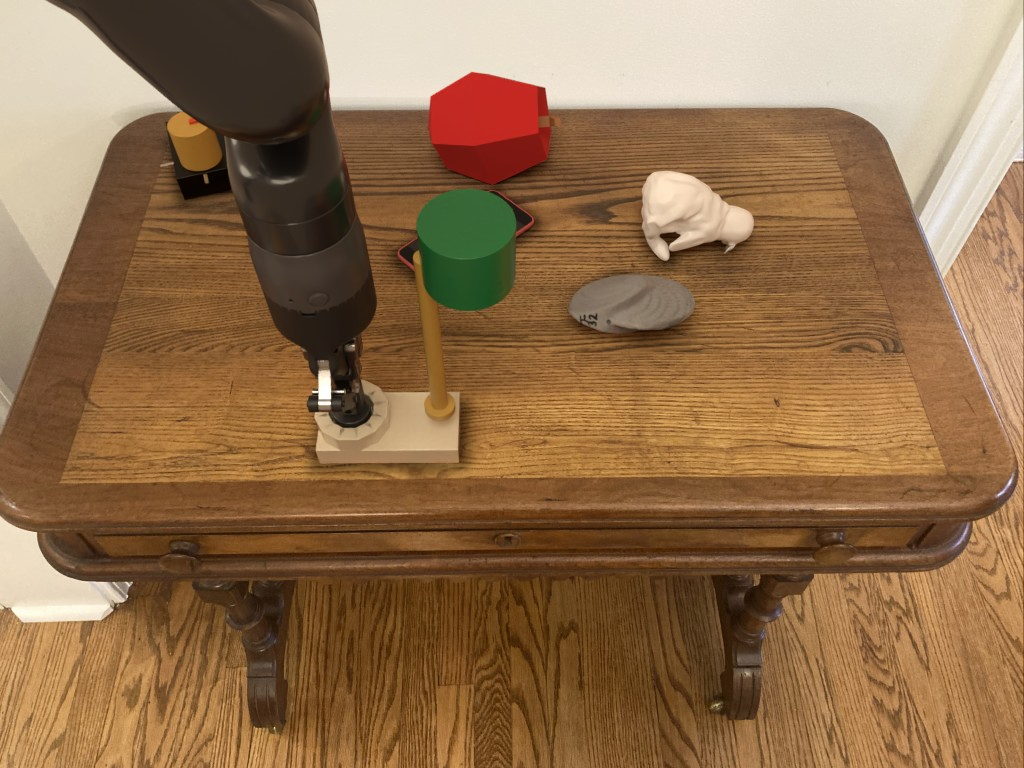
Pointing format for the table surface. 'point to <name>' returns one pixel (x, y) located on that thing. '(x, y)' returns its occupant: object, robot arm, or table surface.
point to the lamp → (460, 271)
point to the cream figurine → (689, 214)
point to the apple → (490, 126)
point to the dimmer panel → (200, 174)
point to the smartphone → (522, 216)
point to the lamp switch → (353, 417)
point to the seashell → (631, 303)
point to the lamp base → (391, 432)
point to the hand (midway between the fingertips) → (351, 407)
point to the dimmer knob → (194, 143)
